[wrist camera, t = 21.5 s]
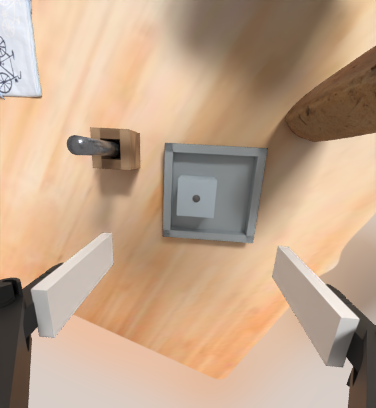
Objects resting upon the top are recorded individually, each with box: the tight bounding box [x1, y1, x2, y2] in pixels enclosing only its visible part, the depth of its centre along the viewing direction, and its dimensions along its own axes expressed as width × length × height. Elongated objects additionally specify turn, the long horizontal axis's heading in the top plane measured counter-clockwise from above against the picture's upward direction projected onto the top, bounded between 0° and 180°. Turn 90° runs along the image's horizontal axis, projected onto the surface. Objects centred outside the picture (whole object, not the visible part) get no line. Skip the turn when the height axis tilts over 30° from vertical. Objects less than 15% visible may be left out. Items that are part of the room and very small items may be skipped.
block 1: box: [177, 175, 217, 218], centre depth 37 cm, size 7×7×6 cm
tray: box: [163, 143, 268, 243], centre depth 39 cm, size 20×20×2 cm
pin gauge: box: [67, 135, 121, 156], centre depth 32 cm, size 2×2×16 cm
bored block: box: [90, 127, 140, 170], centre depth 36 cm, size 7×7×6 cm
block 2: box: [286, 46, 376, 142], centre depth 26 cm, size 11×8×20 cm
